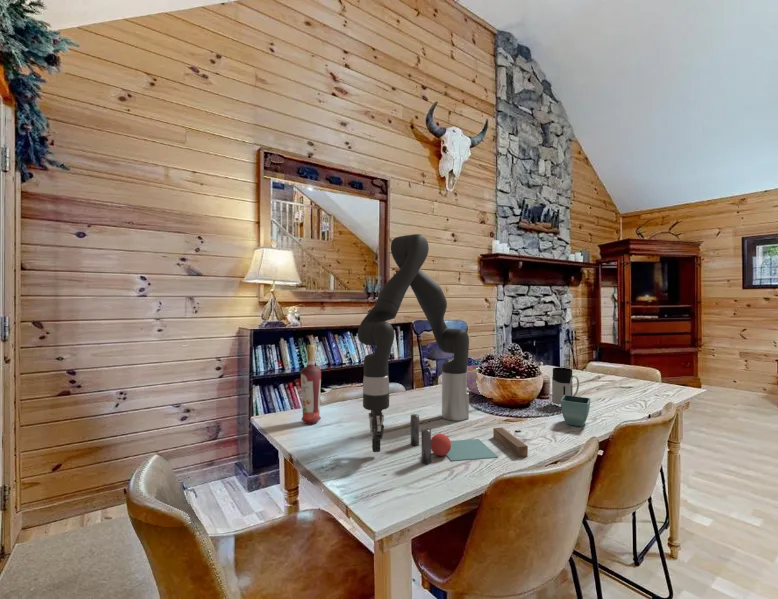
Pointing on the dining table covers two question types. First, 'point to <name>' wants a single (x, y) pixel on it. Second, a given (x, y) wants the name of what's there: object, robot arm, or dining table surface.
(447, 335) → the robot arm
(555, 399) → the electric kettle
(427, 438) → the post near
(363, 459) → the dining table surface
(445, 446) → the ball
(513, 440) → the wall
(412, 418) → the post far
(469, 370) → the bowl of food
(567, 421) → the flower pot
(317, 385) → the red condiment bottle
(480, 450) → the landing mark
